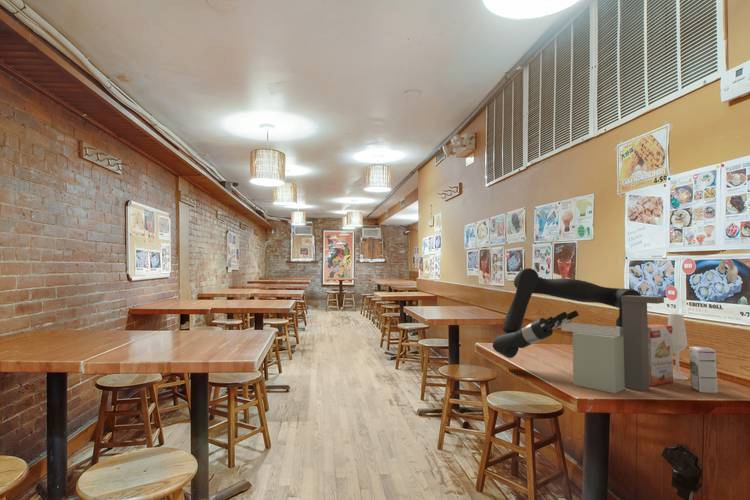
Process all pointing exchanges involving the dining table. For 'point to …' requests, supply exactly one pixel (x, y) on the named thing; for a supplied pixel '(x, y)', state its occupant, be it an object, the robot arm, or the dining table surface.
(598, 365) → the block
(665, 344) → the cracker box
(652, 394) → the dining table surface
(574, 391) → the dining table surface
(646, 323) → the pedestal stand
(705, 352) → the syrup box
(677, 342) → the champagne flute
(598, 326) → the aluminium bar
